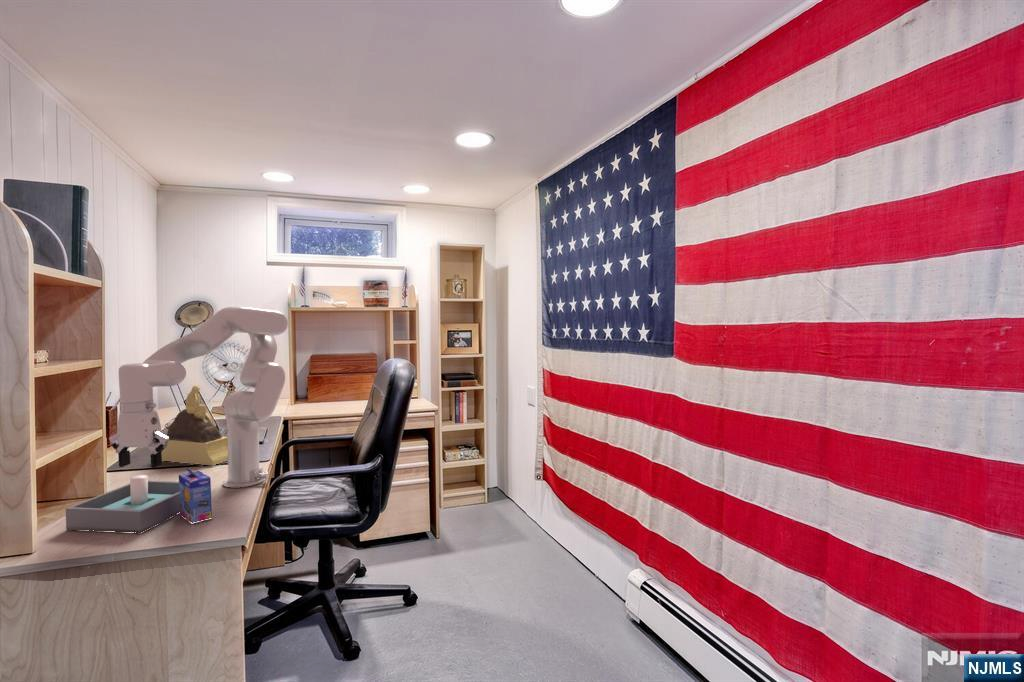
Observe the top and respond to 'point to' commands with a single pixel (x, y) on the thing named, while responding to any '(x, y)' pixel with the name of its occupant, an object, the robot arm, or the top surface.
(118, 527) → the storage box
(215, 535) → the top surface
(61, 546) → the top surface
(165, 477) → the top surface
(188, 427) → the statue on rock pedestal
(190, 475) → the ink cartridge box
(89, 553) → the top surface
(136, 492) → the plug
